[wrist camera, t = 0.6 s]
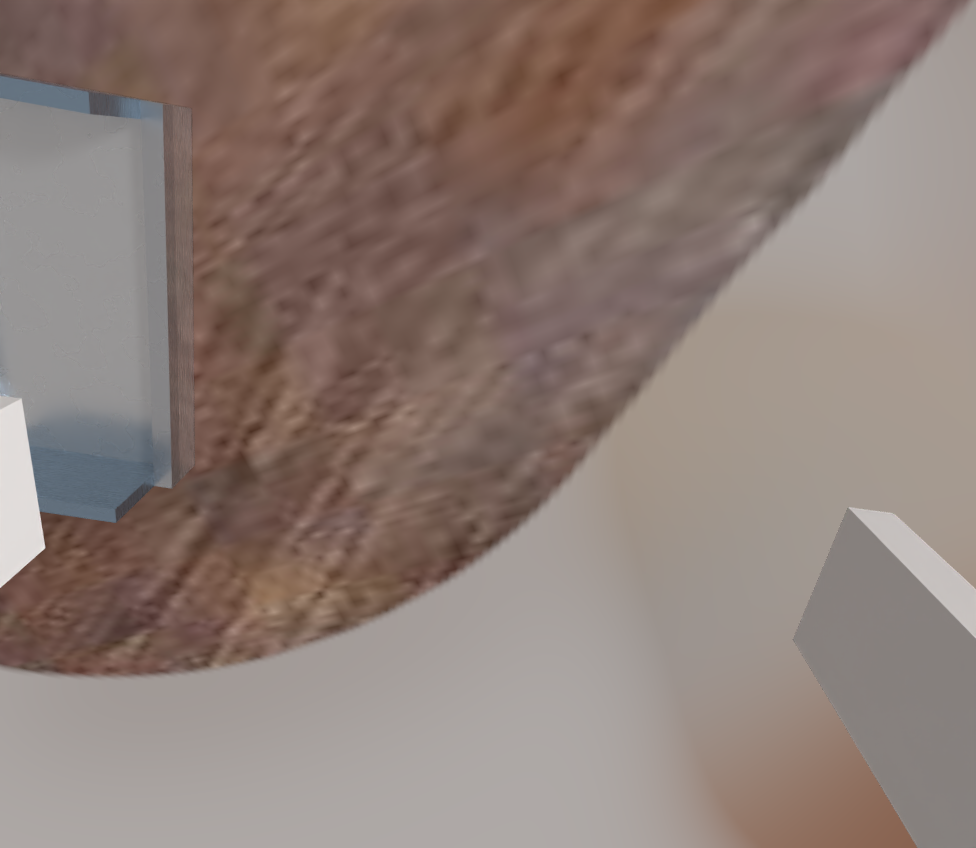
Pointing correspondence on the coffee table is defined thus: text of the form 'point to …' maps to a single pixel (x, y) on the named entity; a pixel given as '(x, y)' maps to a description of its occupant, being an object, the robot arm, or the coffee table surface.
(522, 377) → the coffee table surface
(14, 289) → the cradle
